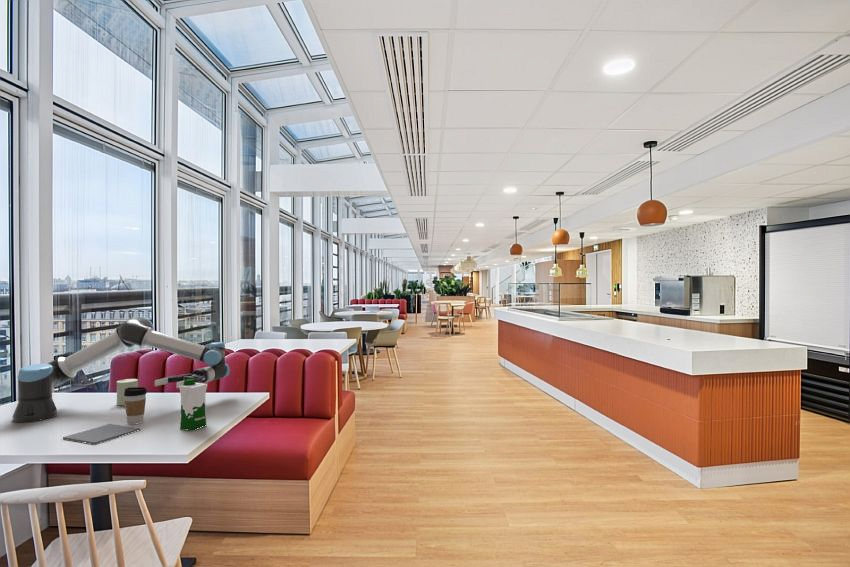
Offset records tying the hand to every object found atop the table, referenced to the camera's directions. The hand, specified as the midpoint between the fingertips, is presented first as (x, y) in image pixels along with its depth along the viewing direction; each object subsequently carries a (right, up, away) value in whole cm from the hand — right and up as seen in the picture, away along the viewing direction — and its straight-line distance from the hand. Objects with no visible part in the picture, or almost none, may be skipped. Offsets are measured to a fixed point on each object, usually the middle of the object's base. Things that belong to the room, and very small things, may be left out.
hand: (165, 384), depth 207 cm
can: (-31, -14, +20) cm, 40 cm away
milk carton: (+23, -14, -20) cm, 34 cm away
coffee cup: (-6, -14, -13) cm, 20 cm away
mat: (-8, -14, -29) cm, 33 cm away
